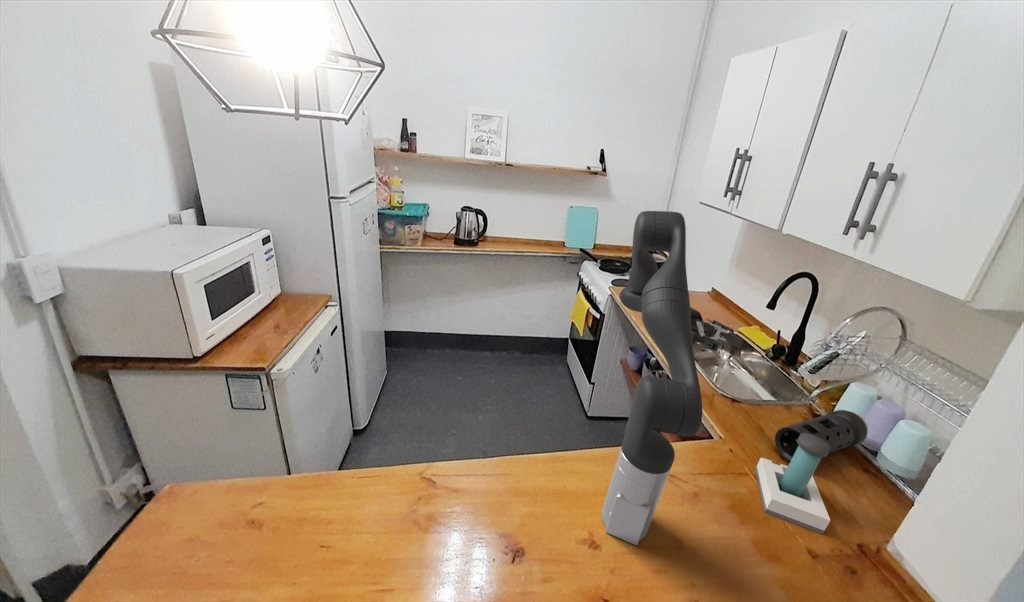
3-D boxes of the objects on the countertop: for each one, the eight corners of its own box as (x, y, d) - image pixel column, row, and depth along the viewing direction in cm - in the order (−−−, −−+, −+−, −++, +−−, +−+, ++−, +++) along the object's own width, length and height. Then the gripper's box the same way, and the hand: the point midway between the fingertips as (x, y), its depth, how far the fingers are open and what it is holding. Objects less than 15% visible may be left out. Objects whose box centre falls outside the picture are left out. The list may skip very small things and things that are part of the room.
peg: (804, 509, 89) (834, 454, 83) (776, 499, 91) (803, 445, 85) (797, 491, 94) (825, 438, 88) (771, 482, 96) (797, 429, 90)
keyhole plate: (822, 534, 85) (830, 520, 83) (764, 512, 88) (771, 498, 87) (805, 487, 97) (812, 474, 96) (755, 469, 100) (760, 457, 99)
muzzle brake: (766, 449, 109) (781, 418, 105) (825, 430, 121) (840, 401, 117) (802, 475, 101) (819, 443, 97) (860, 452, 113) (878, 423, 109)
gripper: (662, 305, 103) (714, 334, 90) (701, 302, 109) (755, 329, 96) (654, 331, 106) (703, 363, 93) (692, 327, 112) (744, 356, 99)
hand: (729, 346), depth 94 cm, fingers open, 8 cm apart
